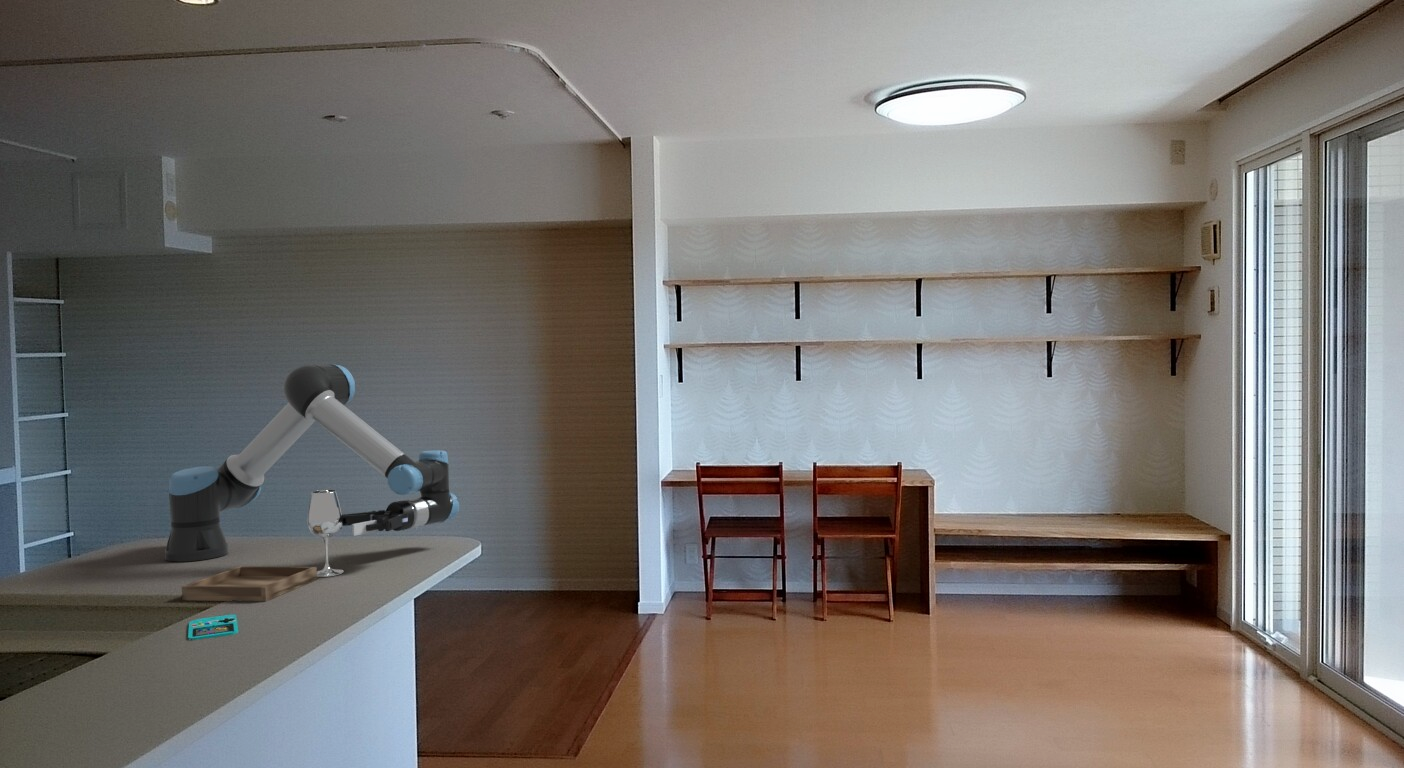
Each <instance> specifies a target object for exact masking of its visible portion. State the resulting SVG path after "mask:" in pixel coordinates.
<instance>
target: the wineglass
mask: <svg viewBox="0 0 1404 768" xmlns="http://www.w3.org/2000/svg"><path fill="white" fill-rule="evenodd" d="M342 514H343V513H342V509H341V504H340V501H339V497H338V494H337V490H336V489H321V490H314V491H311V493H310V498H309V504H308V510H307V526H308V529H309V531H310V532H311V533H312V534H313V535H314V536H315V537H317V538H320V539H322V541H323V545H324V546H323V547H324V567H323V568H322V569H321V570H317V578H328V577H329V578H330V577H334V576H339V575H341V574H343V573H344V572H345V571H344V570H343V569H341V568H331V566H330V564H329V549H328V546H329V539H330V538H332V537H333V536H335V535H336V534H337V533H338V532H339V531H340V530H341V529H340V528H341V525H342Z"/></svg>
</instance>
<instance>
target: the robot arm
mask: <svg viewBox="0 0 1404 768" xmlns="http://www.w3.org/2000/svg"><path fill="white" fill-rule="evenodd" d="M284 380H285V381H284V383H283V392H284V396H285V398H286V400H287V402H288V403H287V404H285V406H284V407H282V409H280V411H279V412H278V413H277V414H276V415H275V416H274V417H273V418H272V419H271V420H270V421H269V422H268V424H267V425H265V427H264V428H263V429H261V431H260V432H259V433H258V434H257V435H256V436H255V437H254V438H253V440H251V441H250V442H249V443H248V445H247V446H245V448H244V449H243V450H242V451H241V452H240V453H239V454H232V455H230V456H228V457H227V459H225V460H224V461H223V462H222V464H221V465H220V466H219V467H217V468H216V467H214V466H211V465H210V466H208V465H207V466H206V465H205V466H195V467H191V468H183V469H182V470H181V469H180V470H178V471H176V472H174V473H172V474H171V475H170V477H169V480H168V481H169V483H168V484H169V486H168V494H169V511H170V512H169V513H170V533H169V537H168V540H167V543H166V546H165V547H166V548H165V550H164V560H165V561H167V562H177V563H178V562H194V561H202V560H210V559H215V558H220V557H223V556H226V555H228V553H229V544H228V542H227V540H226V537H225V534H224V532H223V530H222V527H221V522H220V521H221V520H220V519H221V518H220V512H223V511H228V510H232V509H239V508H242V507H245V506H247V505H249V504H251V503H252V502H254V501H255V500H256V499H257V498H258V497H259V495H260V493H261V491H262V487H261V486H262V485H263V484H264V481H265V473H267V472H268V471H269V470H270V469H271V468H272V466H273V465H275V463H276V462H278V460H279V459H280V458H281V457H282V456H283V455H284V454H285V453H286V452H287V451H288V450H289V449H290V448H291V446H293V445H294V444H295V443H296V441H297V440H299V438H300V437H301V436H302V435H303V434H304V433H305V432H306V431H307V430H308V429H309V428H310V427H311V426H312V425H313V424H314V423H315V422H316V423H318V424H319V425H320V426H321V427H322V428H324V429H325V430H326V431H328V432H329V433H330V434H331V435H332V436H333V437H335V438H336V439H337V440H338V441H340V442H341V443H342V444H344V445H345V446H346V447H347V448H349V449H350V450H351V451H352V452H353V453H354V454H356V455H357V456H359V457H360V458H361V459H362V460H363V461H365V462H366V463H367V464H368V465H370V466H371V467H373V468H374V469H375V470H376V471H377V472H378V473H379V474H381V475H383V477H385V478H386V480H387V484H388V487H389V488H390V490H391V491H392V492H393V493H395V494H397V495H400V496H406V495H413V494H415V493H417V492H420V497H413V498H408V499H404V500H398V501H397V500H396V501H393V502H391V503H389V505H387V507H386V509H378V510H372V511H364V512H354V513H345V514H343V513H342V525H341V528H340V529H339V530H341V529H342V528H343V527H344V526H346V527H348V526H351V530H352V531H351V533H352V534H351V535H352V536H360V535H364V534H371V533H375V532H378V531H379V532H384V531H385V532H389V531H392V530H393V531H395V532H399V531H405V530H408V529H409V530H410V529H414V530H418V528H419V527H423V526H429V525H433V524H434V525H435V524H438V523H439V524H440V523H445V522H448V521H450V520H453V519H455V518H456V517H457V516H458V513H459V511H460V502H459V501H458V497H457V496H456V495H455V494H454V493H452V492H450V479H449V478H450V477H449V475H450V472H449V471H450V469H449V468H450V467H449V466H450V464H449V457H448V452H447V451H445V450H440V449H439V450H436V449H435V450H424V451H421V452H419V454H418V461H414V460H413V459H412V458H410V457H409V456H407V455H406V454H405V452H403V451H402V450H400V449H399V448H398V447H397V446H395V445H394V444H393V443H391V442H390V441H389V440H387V438H385V437H384V436H383V435H381V434H380V433H379V432H378V431H377V430H376V429H374V428H373V427H372V426H370V425H369V424H368V423H367V422H365V421H364V420H363V419H362V418H360V417H359V416H358V415H357V414H356V413H355V412H353V411H352V410H351V409H349V407H347V406H346V405H347V404H348V403H350V402H351V400H352V399H353V398H354V396H355V392H356V385H355V384H356V382H355V378H354V377H353V375H352V373H351V372H350V371H349V369H348V368H346V367H344V366H342V365H339V364H335V363H328V364H327V363H326V364H313V365H312V364H305V365H300V366H298V367H296V368H293V370H291V371H290V372H289V373H288V374H287V376H286V378H285V379H284Z"/></svg>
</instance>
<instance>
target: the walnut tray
mask: <svg viewBox="0 0 1404 768" xmlns="http://www.w3.org/2000/svg"><path fill="white" fill-rule="evenodd" d="M317 571H318V567H317V566H249V565H248V566H246V565H244V566H243V565H242V566H240V565H239V566H237V567H234V568H231V569H228V570H225V571H223V572H220V573H216V574H213V575H210V576H208V577H206V578H201V579H200V580H197V581H193V582H191V583H188V584H185V585H181V600H182V601H211V602H213V601H216V602H218V601H220V602H221V601H222V602H224V601H225V602H229V601H230V602H233V601H232V600H253V601H252V602H267V600H268V601H270V600H272V599H275V598H278V597H279V596H282V595H284V593H285V594H287V593H289V592H291V591H294V590H296V589H299V588H301V587H303V585H304V586H306V585H308V584H311V583H312V582H315V581H317V580H318V577H317Z"/></svg>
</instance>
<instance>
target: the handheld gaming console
mask: <svg viewBox="0 0 1404 768" xmlns="http://www.w3.org/2000/svg"><path fill="white" fill-rule="evenodd" d="M226 626H229V628H230V630H227V627H226ZM217 627H220V628H217ZM224 627H225V628H224ZM212 628H216V629H219V630H218V632H214V631H215V630H216V629H215V630H214V631H213V630H212ZM203 629H207V630H208V631H207V632H206V633H204V634H197V631H196V630H200V631H203ZM222 630H225V631H222ZM210 632H212V633H210ZM207 633H209V634H207ZM236 633H237V634H239V628H238V620H237V615H236V614H226V615H220V616H218V615H217V616H211V617H204V618H197V619H194V620H191V621H189V623H188V636H187V639H188V638H189V639H199V640H203V639H202V638H206V639H211V637H213V638H218V637H217V636H220V637H225V636H226V637H227V636H234V635H236Z"/></svg>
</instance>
